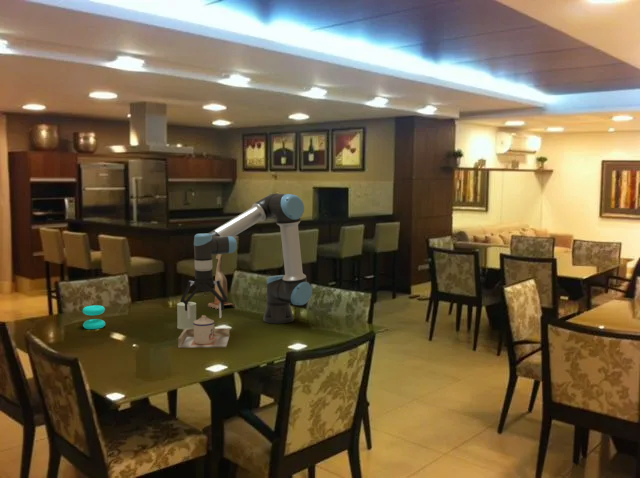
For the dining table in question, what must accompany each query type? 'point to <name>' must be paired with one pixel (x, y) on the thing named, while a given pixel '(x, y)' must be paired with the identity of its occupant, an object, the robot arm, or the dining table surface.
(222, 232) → the robot arm
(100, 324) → the donuts
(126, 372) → the dining table surface
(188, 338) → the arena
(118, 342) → the dining table surface
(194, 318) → the can
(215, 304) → the bird sculpture
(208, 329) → the teacup with lid
